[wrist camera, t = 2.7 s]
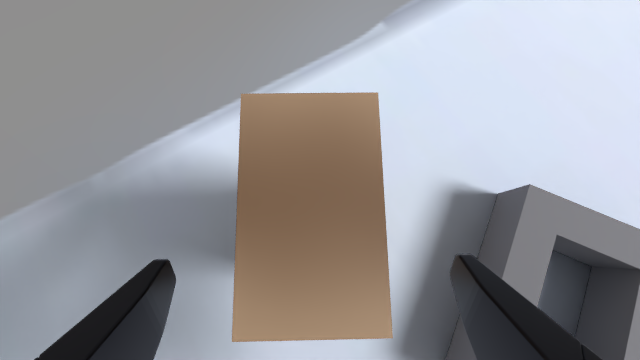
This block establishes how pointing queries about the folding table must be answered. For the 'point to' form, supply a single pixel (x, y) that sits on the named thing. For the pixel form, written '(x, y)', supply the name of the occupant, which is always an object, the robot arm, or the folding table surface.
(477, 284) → the robot arm
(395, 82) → the folding table surface
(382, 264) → the slat
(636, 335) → the gray block with hole
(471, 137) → the folding table surface
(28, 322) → the folding table surface
